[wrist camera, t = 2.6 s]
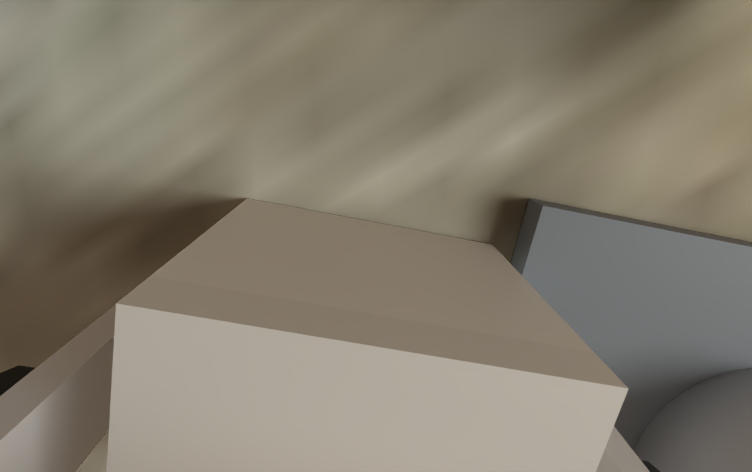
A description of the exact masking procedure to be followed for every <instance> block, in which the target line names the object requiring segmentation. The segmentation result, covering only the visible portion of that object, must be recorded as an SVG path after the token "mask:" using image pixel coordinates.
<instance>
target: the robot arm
mask: <svg viewBox="0 0 752 472" xmlns="http://www.w3.org/2000/svg"><path fill="white" fill-rule="evenodd" d="M115 312H116V304H115V305H114V306H113V307H112V308H110V309H109V310H108V311H107V312H105V313H104V314H103V315H102V316H100V317H99V318H98V319H96V320H95V321H94V322H93V323H91V324H90V325H89V326H88V327H86V328H85V329H84V330H83V331H81V332H80V333H79V334H78V335H76V336H75V337H74V338H73V339H71V340H70V341H69V342H68V343H66V344H65V345H64V346H63V347H61V348H60V349H59V350H58V351H56V352H55V353H54V354H53V355H51V356H50V357H49V358H48V359H46V360H45V361H44V362H43V363H41V364H40V365H39V366H38V367H36V368H32V367H25V366H16V367H14V368H12V369H9V370H7V371H4V372H2V373H0V472H75V471H76V470H77V469H78V467H79V466H80V465H81V464H82V462H83V461H84V460H85V458H86V457H87V456H88V455H89V453H90V452H91V451H92V450H93V448H94V447H95V446H96V445H97V443H98V442H99V441H100V439H101V438H102V437H103V436H104V434H105V433H106V432H107V431H108V429H109V419H110V401H111V383H112V366H113V348H114V330H115ZM596 472H660V471H659V470H658V469H657V468H655V467H654V466H653V465H652V464H651V463H649V462H648V461H643V460H640V459H639V457H638V456H637V455H636V453H635V452H634V451H633V450H632V448H631V447H630V446H629V445H628V443H627V442H626V441H625V440H624V438H623V437H622V436H621V434H620V433H619V432H618V431H617V429H616V428H615V427H613V430H612V432H611V435H610V437H609V440H608V442H607V445H606V447H605V450H604V452H603V455H602V457H601V460H600V462H599V465H598V468H597V470H596Z"/></svg>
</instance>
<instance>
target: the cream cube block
mask: <svg viewBox="0 0 752 472" xmlns="http://www.w3.org/2000/svg"><path fill="white" fill-rule="evenodd" d="M628 389H629V388H628V387H627V386H626V385H625V384H624V383H623V382H622V381H621V380H620V379H619V378H618V377H617V376H616V375H615V374H614V372H613V371H612V370H611V369H610V368H609V367H608V366H607V365H606V364H605V363H604V362H603V361H602V360H601V359H600V358H599V357H598V356H597V355H596V353H595V352H594V351H593V350H592V349H591V348H590V347H589V346H588V345H587V344H586V343H585V342H584V341H583V340H582V339H581V338H580V337H579V336H578V334H577V333H576V332H575V331H574V330H573V329H572V328H571V327H570V326H569V325H568V324H567V323H566V322H565V321H564V320H563V319H562V318H561V317H560V315H559V314H558V313H557V312H556V311H555V310H554V309H553V308H552V307H551V306H550V305H549V304H548V303H547V302H546V301H545V300H544V299H543V298H542V296H541V295H540V294H539V293H538V292H537V291H536V290H535V289H534V288H533V287H532V286H531V285H530V284H529V283H528V282H527V281H526V280H525V278H524V277H523V276H522V275H521V274H520V273H519V272H518V271H517V270H516V269H515V268H514V267H513V266H512V265H511V264H510V263H509V262H508V261H507V259H506V258H505V257H504V256H503V255H502V254H501V253H500V252H499V251H498V250H497V249H496V248H495V247H494V246H493V245H492V244H487V243H481V242H476V241H471V240H466V239H460V238H455V237H450V236H444V235H439V234H434V233H428V232H423V231H418V230H412V229H407V228H402V227H397V226H391V225H386V224H381V223H375V222H370V221H365V220H359V219H354V218H349V217H344V216H338V215H333V214H328V213H322V212H317V211H312V210H306V209H301V208H296V207H291V206H285V205H280V204H275V203H269V202H264V201H259V200H253V199H248V198H247V199H246V200H244V201H243V202H242V203H241V204H239V205H238V206H237V207H236V208H234V209H233V210H232V211H231V212H229V213H228V214H227V215H226V216H224V217H223V218H222V219H221V220H219V221H218V222H217V223H216V224H214V225H213V226H212V227H211V228H209V229H208V230H207V231H206V232H205V233H203V234H202V235H201V236H200V237H198V238H197V239H196V240H195V241H193V242H192V243H191V244H190V245H188V246H187V247H186V248H185V249H183V250H182V251H181V252H180V253H178V254H177V255H176V256H175V257H173V258H172V259H171V260H170V261H168V262H167V263H166V264H165V265H163V266H162V267H161V268H160V269H158V270H157V271H156V272H155V273H153V274H152V275H151V276H150V277H148V278H147V279H146V280H145V281H143V282H142V283H141V284H140V285H138V286H137V287H136V288H135V289H133V290H132V291H131V292H130V293H128V294H127V295H126V296H125V297H123V298H122V299H121V300H120V301H118V302H117V303H116V312H115V330H114V348H113V366H112V383H111V401H110V419H109V436H108V454H107V472H596V470H597V468H598V465H599V462H600V460H601V457H602V455H603V452H604V450H605V447H606V445H607V442H608V440H609V437H610V435H611V432H612V430H613V427H614V425H615V422H616V419H617V417H618V414H619V412H620V409H621V407H622V404H623V402H624V399H625V397H626V394H627V392H628Z"/></svg>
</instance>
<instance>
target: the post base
mask: <svg viewBox="0 0 752 472" xmlns="http://www.w3.org/2000/svg"><path fill="white" fill-rule="evenodd" d="M510 264H511V265H512V266H513V267H514V268H515V269H516V270H517V271H518V272H519V273H520V274H521V275H522V276H523V277H524V278H525V280H526V281H527V282H528V283H529V284H530V285H531V286H532V287H533V288H534V289H535V290H536V291H537V292H538V293H539V294H540V295H541V296H542V298H543V299H544V300H545V301H546V302H547V303H548V304H549V305H550V306H551V307H552V308H553V309H554V310H555V311H556V312H557V313H558V314H559V315H560V317H561V318H562V319H563V320H564V321H565V322H566V323H567V324H568V325H569V326H570V327H571V328H572V329H573V330H574V331H575V332H576V333H577V334H578V336H579V337H580V338H581V339H582V340H583V341H584V342H585V343H586V344H587V345H588V346H589V347H590V348H591V349H592V350H593V351H594V352H595V353H596V355H597V356H598V357H599V358H600V359H601V360H602V361H603V362H604V363H605V364H606V365H607V366H608V367H609V368H610V369H611V370H612V371H613V372H614V374H615V375H616V376H617V377H618V378H619V379H620V380H621V381H622V382H623V383H624V384H625V385H626V386H627V387H628V388H629V389H628V392H627V394H626V397H625V399H624V402H623V404H622V407H621V409H620V412H619V414H618V417H617V419H616V422H615V425H614V427H615V428H616V429H617V431H618V432H619V433H620V434H621V436H622V437H623V438H624V440H625V441H626V442H627V443H628V445H629V446H630V447H631V448H632V450H633V451H634V452H635V453H636V455H637V456H638V457H639V459H640V460H643V461H648V462H649V463H651V464H652V465H653V466H654V467H655V468H657V469H658V470H659V471H660V472H752V242H747V241H742V240H737V239H732V238H727V237H722V236H717V235H712V234H707V233H702V232H697V231H692V230H687V229H681V228H676V227H671V226H666V225H661V224H656V223H651V222H646V221H641V220H636V219H631V218H626V217H621V216H616V215H611V214H606V213H601V212H596V211H591V210H586V209H581V208H576V207H571V206H566V205H561V204H555V203H550V202H545V201H540V200H535V199H530V198H529V202H528V205H527V209H526V212H525V215H524V219H523V222H522V226H521V229H520V232H519V236H518V239H517V243H516V246H515V249H514V253H513V256H512V260H511V263H510Z"/></svg>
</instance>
